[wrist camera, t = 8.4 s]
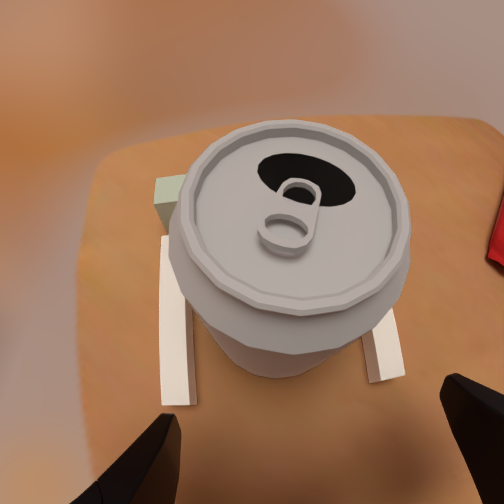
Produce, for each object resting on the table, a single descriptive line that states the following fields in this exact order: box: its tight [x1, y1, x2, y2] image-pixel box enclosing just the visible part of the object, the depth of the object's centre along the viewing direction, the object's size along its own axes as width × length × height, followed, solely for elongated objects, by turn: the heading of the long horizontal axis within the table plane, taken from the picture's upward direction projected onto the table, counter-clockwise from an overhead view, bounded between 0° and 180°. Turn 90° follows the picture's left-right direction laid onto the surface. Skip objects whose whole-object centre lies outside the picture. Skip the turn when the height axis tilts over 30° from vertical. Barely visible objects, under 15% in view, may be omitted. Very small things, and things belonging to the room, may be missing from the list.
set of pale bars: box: [154, 174, 405, 405], centre depth 17 cm, size 13×13×4 cm
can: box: [168, 119, 411, 379], centre depth 13 cm, size 8×8×12 cm
